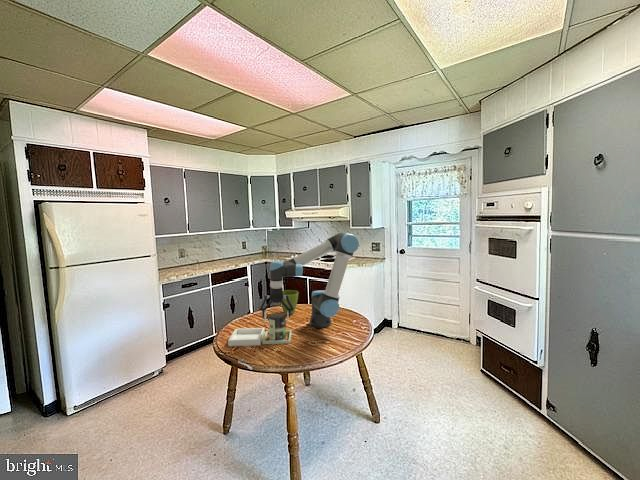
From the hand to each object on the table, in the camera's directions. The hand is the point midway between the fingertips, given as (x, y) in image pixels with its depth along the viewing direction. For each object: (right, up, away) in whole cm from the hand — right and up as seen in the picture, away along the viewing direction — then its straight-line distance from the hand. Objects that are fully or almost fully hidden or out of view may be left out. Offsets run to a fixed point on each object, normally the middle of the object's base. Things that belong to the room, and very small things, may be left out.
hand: (276, 321), depth 180 cm
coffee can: (0, -10, +1) cm, 10 cm away
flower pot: (+2, -7, +48) cm, 48 cm away
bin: (-17, -10, -1) cm, 20 cm away
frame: (0, -10, +1) cm, 10 cm away
